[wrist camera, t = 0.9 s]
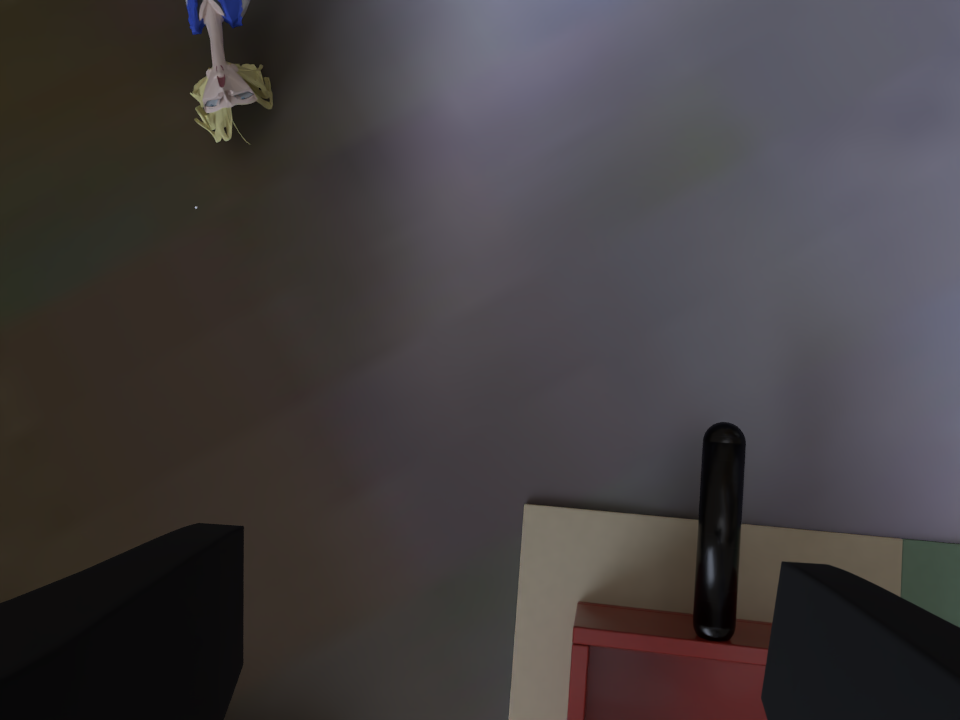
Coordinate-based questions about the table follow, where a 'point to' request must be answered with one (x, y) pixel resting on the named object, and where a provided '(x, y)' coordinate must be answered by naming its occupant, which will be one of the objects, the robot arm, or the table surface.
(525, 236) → the table surface
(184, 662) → the robot arm
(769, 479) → the table surface
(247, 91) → the figurine
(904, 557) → the desk pad
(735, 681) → the pan
